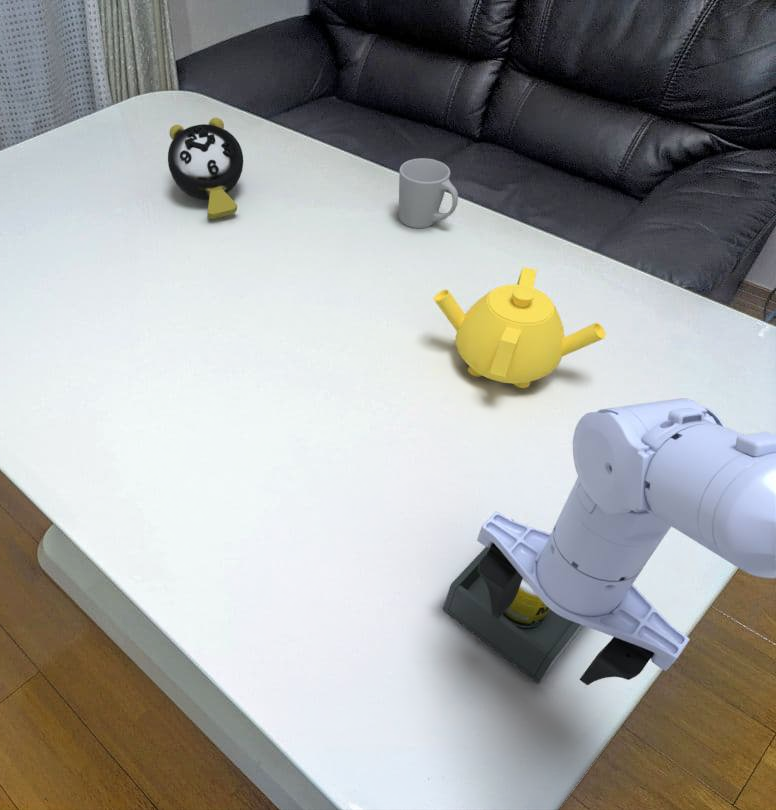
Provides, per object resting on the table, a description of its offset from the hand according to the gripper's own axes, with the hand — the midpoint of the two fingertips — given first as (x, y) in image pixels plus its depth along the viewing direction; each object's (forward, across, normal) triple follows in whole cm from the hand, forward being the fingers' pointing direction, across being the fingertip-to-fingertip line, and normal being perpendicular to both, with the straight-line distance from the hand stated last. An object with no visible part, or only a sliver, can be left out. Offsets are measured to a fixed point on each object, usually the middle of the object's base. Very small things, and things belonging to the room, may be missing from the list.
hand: (544, 640), depth 58 cm
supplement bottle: (+9, +4, -7) cm, 12 cm away
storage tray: (+9, +4, -7) cm, 12 cm away
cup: (+10, +51, -56) cm, 76 cm away
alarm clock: (+10, +82, -38) cm, 91 cm away
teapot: (+10, +24, -36) cm, 44 cm away
